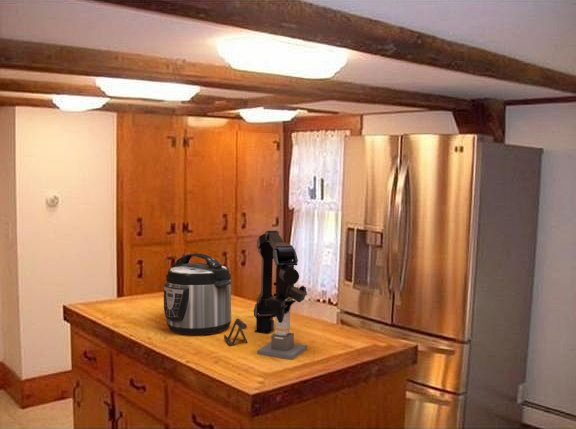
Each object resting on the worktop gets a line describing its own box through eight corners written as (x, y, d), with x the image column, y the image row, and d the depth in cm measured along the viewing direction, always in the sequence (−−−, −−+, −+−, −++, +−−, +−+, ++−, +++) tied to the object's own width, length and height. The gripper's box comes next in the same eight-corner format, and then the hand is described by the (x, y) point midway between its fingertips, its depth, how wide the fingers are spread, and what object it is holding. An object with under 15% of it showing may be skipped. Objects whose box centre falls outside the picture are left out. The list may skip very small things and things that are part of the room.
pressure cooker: (160, 321, 258) (160, 249, 255) (223, 317, 266) (224, 248, 264) (167, 340, 229) (167, 260, 227) (237, 335, 238) (238, 258, 235)
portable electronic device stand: (223, 340, 231) (223, 319, 231) (242, 338, 234) (243, 317, 233) (229, 346, 223) (229, 324, 222) (249, 344, 226) (249, 323, 225)
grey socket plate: (257, 354, 214) (257, 336, 213) (273, 344, 227) (273, 327, 226) (292, 359, 208) (292, 341, 208) (306, 349, 221) (307, 332, 221)
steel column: (275, 337, 216) (275, 312, 215) (279, 334, 220) (280, 310, 219) (285, 339, 214) (285, 313, 214) (289, 336, 218) (290, 311, 217)
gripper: (293, 286, 204) (293, 330, 205) (313, 277, 221) (312, 318, 222) (264, 283, 208) (264, 326, 209) (286, 274, 225) (285, 314, 226)
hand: (282, 321), depth 217 cm, fingers closed on steel column, 4 cm apart
